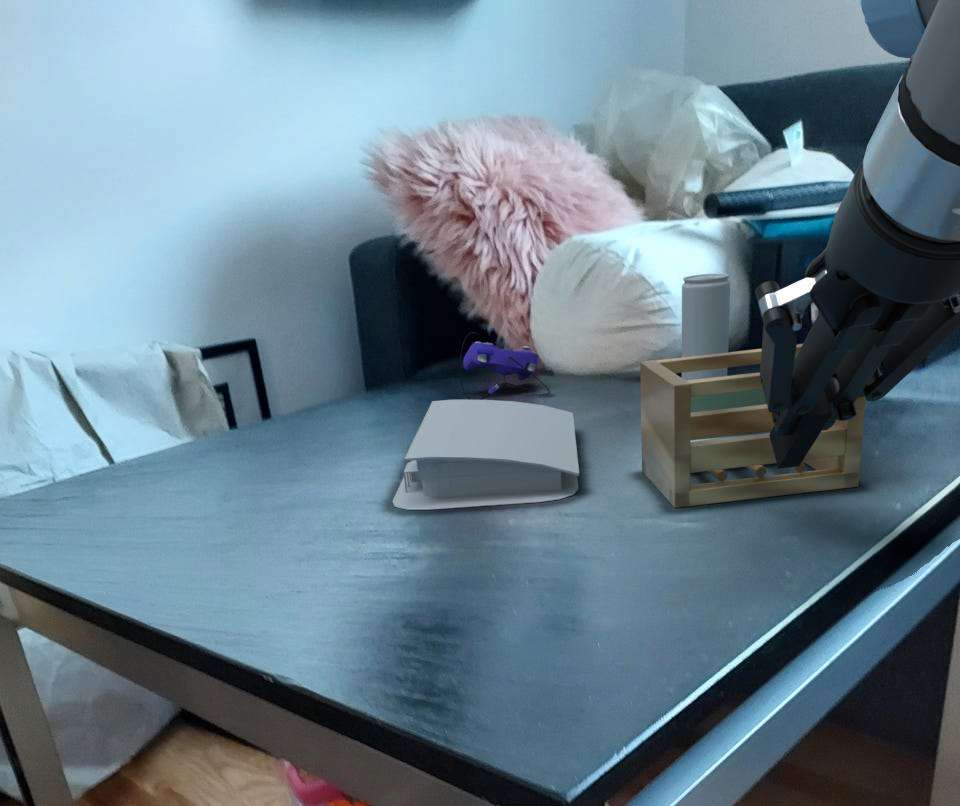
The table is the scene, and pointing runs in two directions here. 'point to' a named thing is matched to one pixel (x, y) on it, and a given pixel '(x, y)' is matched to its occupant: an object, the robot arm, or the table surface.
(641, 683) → the table surface
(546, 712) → the table surface
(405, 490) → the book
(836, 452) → the rack
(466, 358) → the game controller
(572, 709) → the table surface
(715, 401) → the stop rail
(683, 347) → the beverage can
